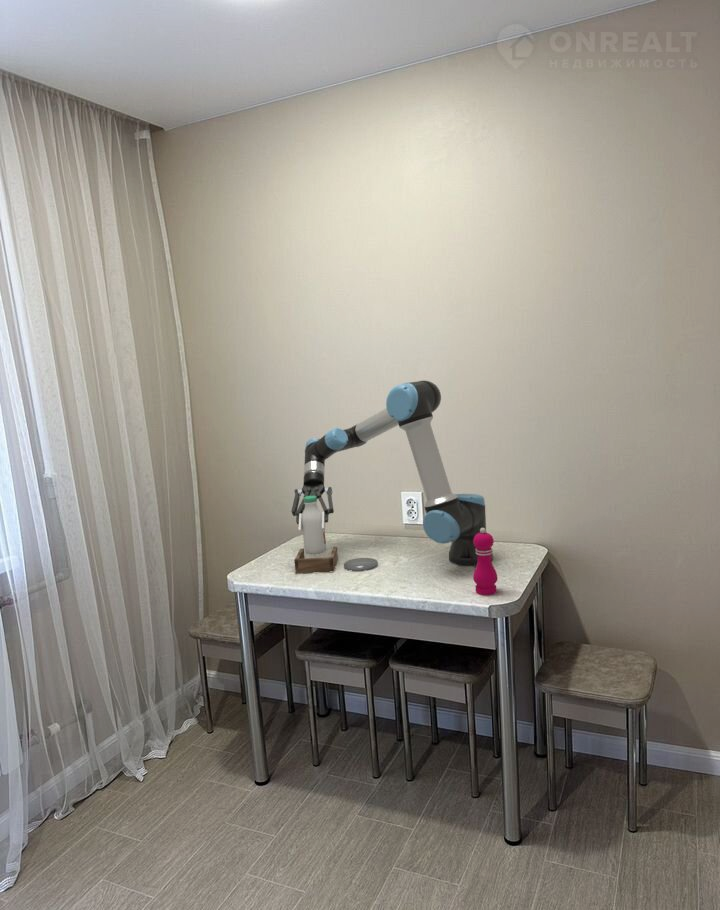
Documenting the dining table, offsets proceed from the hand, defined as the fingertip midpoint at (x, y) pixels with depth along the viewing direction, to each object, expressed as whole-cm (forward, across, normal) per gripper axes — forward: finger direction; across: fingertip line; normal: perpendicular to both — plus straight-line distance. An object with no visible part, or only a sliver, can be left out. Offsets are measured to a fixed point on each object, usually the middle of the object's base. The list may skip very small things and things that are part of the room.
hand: (311, 530), depth 245 cm
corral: (+8, 0, -12) cm, 15 cm away
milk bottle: (+4, 0, -9) cm, 10 cm away
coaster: (+9, -16, -12) cm, 21 cm away
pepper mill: (+31, -57, +9) cm, 65 cm away
